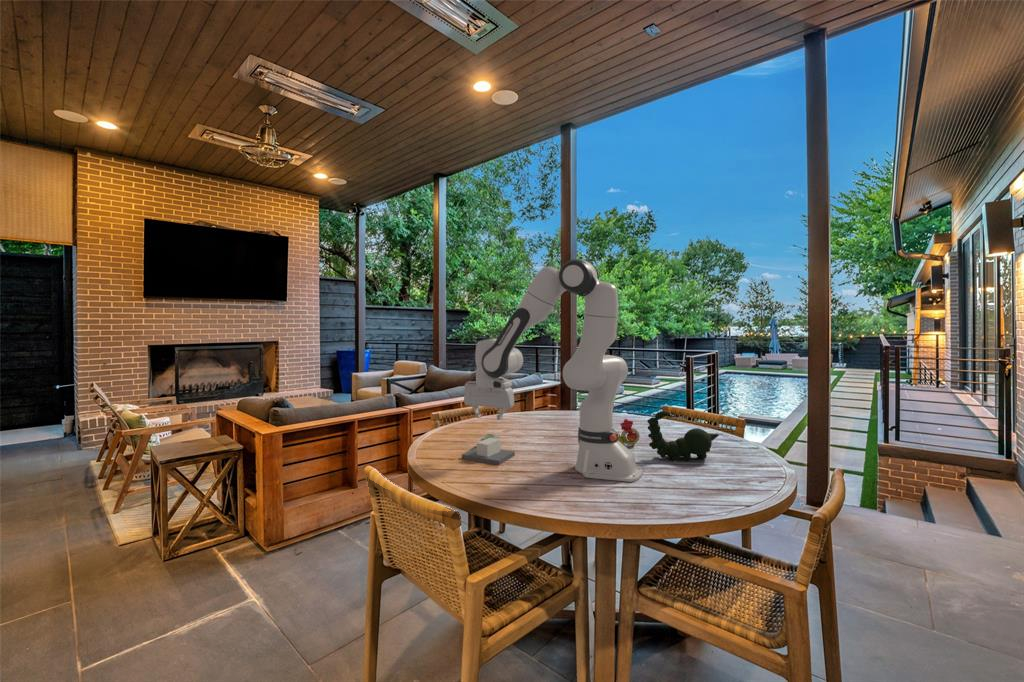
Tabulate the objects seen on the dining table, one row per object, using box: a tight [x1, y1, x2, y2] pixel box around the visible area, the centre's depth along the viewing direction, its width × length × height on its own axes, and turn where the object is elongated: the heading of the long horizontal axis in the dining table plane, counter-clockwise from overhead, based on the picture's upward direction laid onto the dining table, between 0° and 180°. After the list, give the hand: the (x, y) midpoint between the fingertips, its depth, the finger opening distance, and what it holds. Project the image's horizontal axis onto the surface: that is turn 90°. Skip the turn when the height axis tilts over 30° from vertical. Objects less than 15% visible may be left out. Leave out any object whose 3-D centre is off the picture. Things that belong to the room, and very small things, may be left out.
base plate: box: [461, 446, 516, 466], centre depth 167 cm, size 16×12×2 cm
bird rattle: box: [618, 418, 640, 447], centre depth 179 cm, size 6×11×9 cm
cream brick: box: [476, 438, 501, 457], centre depth 167 cm, size 5×8×4 cm, turn 146°
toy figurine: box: [646, 410, 720, 462], centre depth 162 cm, size 9×19×25 cm
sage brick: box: [480, 433, 500, 441], centre depth 179 cm, size 5×8×4 cm, turn 166°
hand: (488, 418), depth 166 cm, fingers open, 8 cm apart
